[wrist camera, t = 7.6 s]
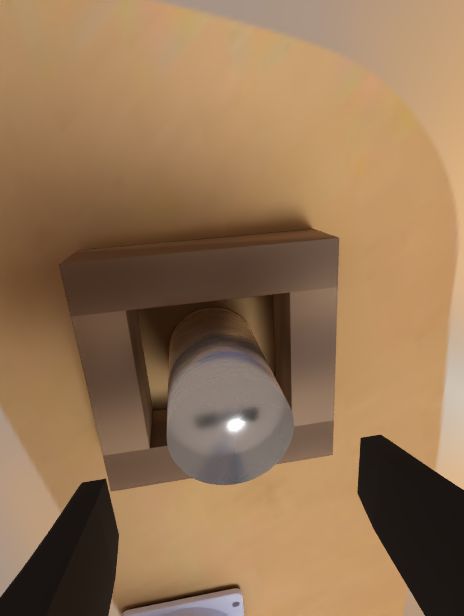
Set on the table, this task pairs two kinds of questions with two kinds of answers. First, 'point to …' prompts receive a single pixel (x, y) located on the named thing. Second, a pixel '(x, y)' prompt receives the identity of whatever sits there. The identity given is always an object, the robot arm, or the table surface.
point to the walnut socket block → (193, 289)
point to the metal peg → (223, 401)
